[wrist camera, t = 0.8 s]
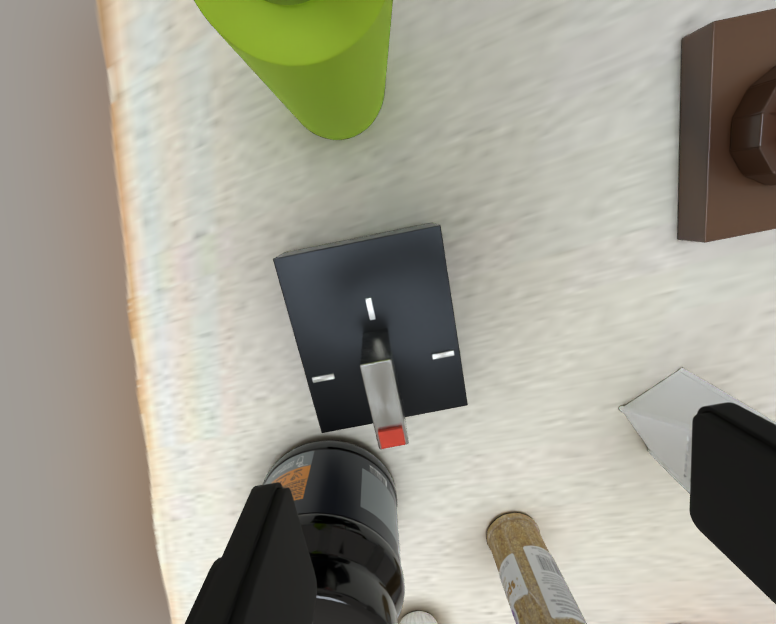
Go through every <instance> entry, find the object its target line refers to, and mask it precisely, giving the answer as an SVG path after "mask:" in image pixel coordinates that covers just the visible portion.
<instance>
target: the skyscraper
mask: <svg viewBox="0 0 776 624" xmlns="http://www.w3.org/2000/svg"><path fill="white" fill-rule="evenodd" d="M726 402H732V403H734V404H737V405H739V406H741V407H743V408H745V409H747V410H749V411H751V412H752V413H754V414H756V415H758V416H760V417H762V418H764V419H766V420H768V421H770V422H772V423H773V424H775V425H776V422H774V421H773V420H771V419H769V418H768V417H766V416H764V415H763V414H761V413H759V412H758V411H756V410H754V409H753V408H751V407H749V406H747V405H746V404H744V403H742V402H741V401H739V400H737V399H736V398H734V397H732V396H731V395H729V394H727V393H725V392H724V391H722V390H720V389H719V388H717V387H715V386H714V385H712V384H710V383H709V382H707V381H705V380H703V379H702V378H700V377H698V376H696V375H695V374H693V373H691V372H690V371H688V370H686V369H684V368H683V367H682V368H681V369H680V370H678V371H677V372H676V373H674V374H672V375H671V376H669V377H668V378H666V379H665V380H663V381H662V382H660V383H659V384H657V385H656V386H654V387H653V388H651V389H650V390H648V391H647V392H645V393H644V394H642V395H641V396H639V397H638V398H636V399H635V400H633V401H632V402H630V403H628V404H627V405H625V406H620V407H619V410H620V411H621V412H623V413H624V414H625V415H626V417H627V418H628V420H629V421H630V422H631V424H632V425H633V427H634V428H635V430H636V431H637V432H638V434H639V435H640V437H641V438H642V440H643V441H644V442H645V444H646V445H647V447H648V448H649V449H648V450H647V451H648V452H649V453H650V454H651V455H652V456H653V457H654V458H655V459H656V460H657V462H658V463H659V464H660V465H661V466H662V467H663V468H664V469H665V470H666V471H667V472H668V473H669V474H670V475H671V476H672V477H673V478H674V479H675V480H676V481H677V482H678V483H679V484H680V485H681V486H682V487H683V488H684V489H685V490H686V491H687V492H688V493H689V494H690V483H691V450H692V421H693V417H694V416H695V415H697V412H698V410H699V409H700V408H701V407H703V406H709V405H714V404H720V403H726Z"/></svg>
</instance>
